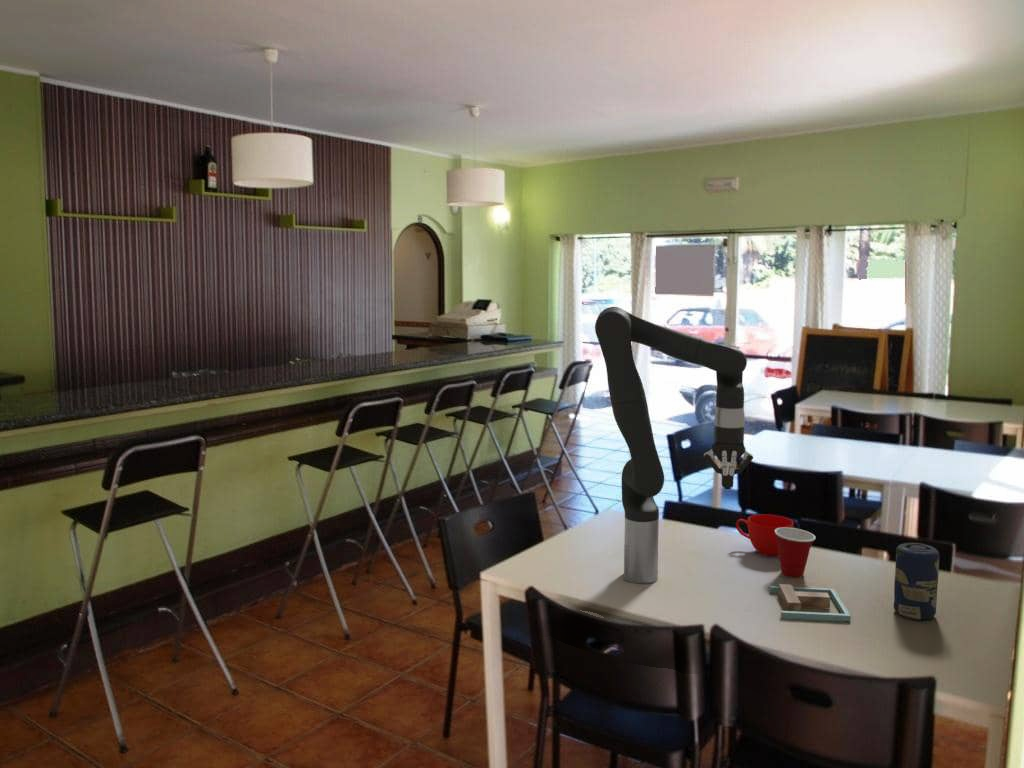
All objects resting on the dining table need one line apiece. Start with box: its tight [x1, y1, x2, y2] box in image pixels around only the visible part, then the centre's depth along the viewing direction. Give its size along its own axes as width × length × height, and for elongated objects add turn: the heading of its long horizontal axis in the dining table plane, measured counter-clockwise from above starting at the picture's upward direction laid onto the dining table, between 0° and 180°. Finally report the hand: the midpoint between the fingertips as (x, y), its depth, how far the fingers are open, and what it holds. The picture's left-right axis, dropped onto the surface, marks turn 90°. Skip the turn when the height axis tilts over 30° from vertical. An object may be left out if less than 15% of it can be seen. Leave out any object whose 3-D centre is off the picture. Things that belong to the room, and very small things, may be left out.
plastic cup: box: [775, 527, 816, 579], centre depth 228 cm, size 11×11×12 cm
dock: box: [769, 585, 852, 622], centre depth 207 cm, size 16×17×2 cm
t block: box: [778, 583, 831, 612], centre depth 207 cm, size 11×12×3 cm
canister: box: [893, 542, 940, 620], centre depth 200 cm, size 10×10×18 cm
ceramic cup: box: [735, 513, 794, 558], centre depth 246 cm, size 13×17×10 cm
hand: (727, 488), depth 216 cm, fingers closed
